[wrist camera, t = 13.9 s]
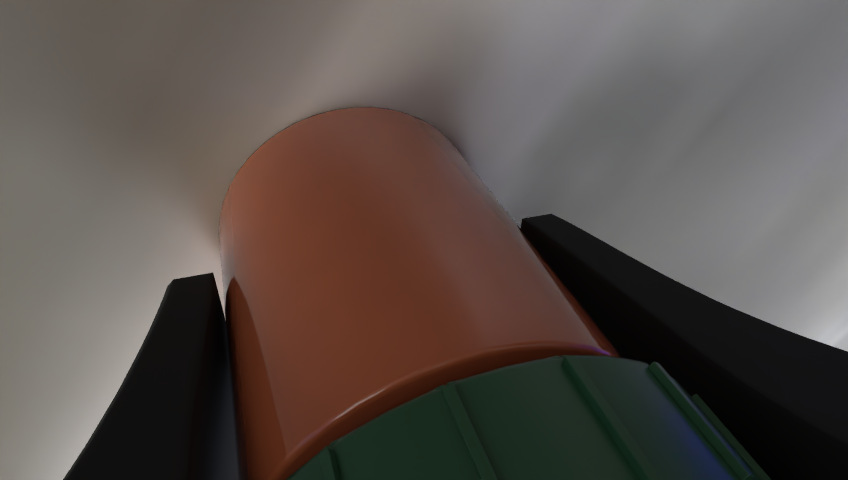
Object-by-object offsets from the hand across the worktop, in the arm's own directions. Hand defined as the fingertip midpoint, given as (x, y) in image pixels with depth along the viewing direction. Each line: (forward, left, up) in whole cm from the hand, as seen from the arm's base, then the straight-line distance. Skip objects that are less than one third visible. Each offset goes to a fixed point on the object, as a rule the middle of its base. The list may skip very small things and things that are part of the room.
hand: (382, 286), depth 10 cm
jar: (0, 0, -2) cm, 2 cm away
